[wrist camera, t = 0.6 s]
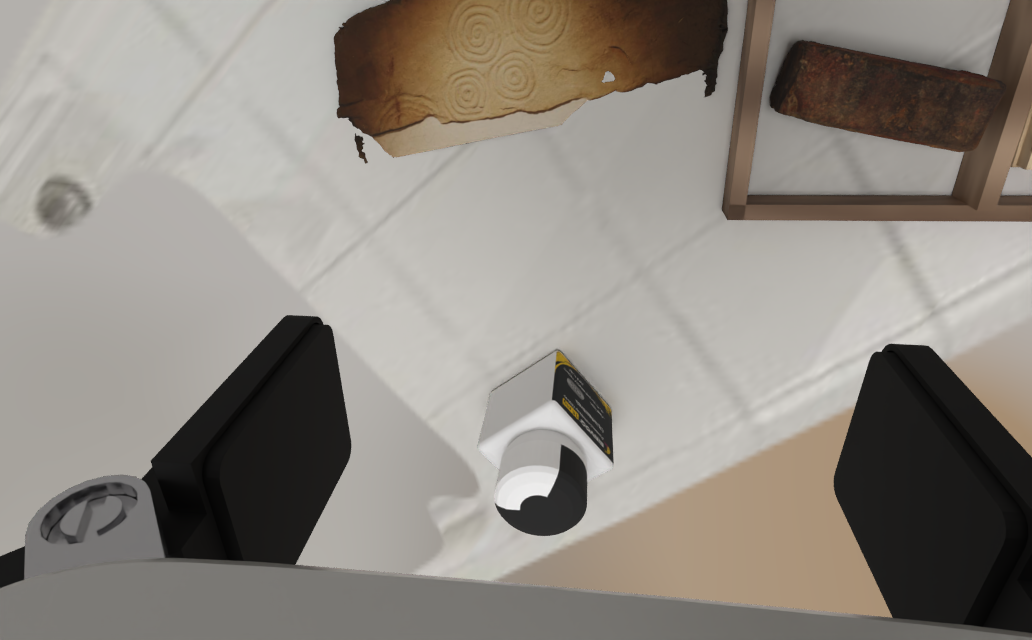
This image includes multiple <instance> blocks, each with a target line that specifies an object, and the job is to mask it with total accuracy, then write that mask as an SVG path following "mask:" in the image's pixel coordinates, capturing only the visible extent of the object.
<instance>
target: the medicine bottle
mask: <svg viewBox="0 0 1032 640" xmlns="http://www.w3.org/2000/svg"><path fill="white" fill-rule="evenodd" d="M477 448H478V450H479V451H480V452H481V453H482V454H483V455H484V456H485V457H486V458H487V459H488V460H489V461H490V462H491V463H492V464H493V465H494V466H495V467H496V468H497V469H498V470H499V473H498V478H497V483H496V488H495V494H494V500H495V505H496V508H497V510H498V512H499V513H500V515H501V516H502V517H503V518H504V519H505V520H506V521H507V522H508V523H509V524H510V525H511V526H513V527H514V528H516V529H518V530H520V531H522V532H525V533H528V534H531V535H537V536H550V535H556V534H560V533H562V532H565V531H567V530H569V529H570V528H572V527H574V526H575V525H576V524H577V523H578V522H579V521H580V520H581V519H582V517H583V516H584V514H585V511H586V507H587V482H589V481H590V480H592V479H594V478H596V477H598V476H600V475H602V474H604V473H606V472H607V471H609V470H611V469H612V468H613V439H612V414H611V409H610V407H609V406H608V405H607V404H606V403H605V402H604V400H603V399H602V398H601V397H600V396H599V395H598V394H597V393H596V391H595V390H594V389H593V388H592V387H591V386H590V385H589V383H588V382H587V381H586V380H585V379H584V378H583V377H582V376H581V374H580V373H579V372H578V371H577V370H576V369H575V368H574V366H573V365H572V364H571V363H570V362H569V361H568V360H567V359H566V357H565V356H564V355H563V354H562V353H561V352H560V351H555V352H553V353H552V354H550V355H548V356H547V357H545V358H544V359H542V360H541V361H539V362H537V363H536V364H534V365H533V366H531V367H530V368H528V369H527V370H525V371H523V372H522V373H520V374H519V375H517V376H516V377H514V378H512V379H511V380H509V381H508V382H506V383H505V384H503V385H502V386H500V387H498V388H497V389H495V390H494V391H492V392H491V394H490V397H489V401H488V405H487V409H486V413H485V417H484V421H483V425H482V429H481V433H480V437H479V441H478V445H477Z"/></svg>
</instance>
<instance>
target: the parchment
mask: <svg viewBox="0 0 1032 640" xmlns="http://www.w3.org/2000/svg"><path fill="white" fill-rule="evenodd" d="M727 15H728V8H727V0H390V1H388V2H386V3H384V4H381V5H378V6H376V7H373V8H369V9H366V10H364V11H363V12H361V13H358V14H356V15H354V16H353V17H351V18H349V19H348V20H347V22H346V23H343V24H342V25H343V26H344V27H343V28H342V27H339V28H340V30H339V31H338V32H337V33H336V34H335V36H334V44H335V65H336V70H337V79H338V80H337V85H338V90H339V106H340V107H339V108H338V109H337V117H338V118H347V117H348V118H349V119H348V120H349V121H350V122H352V124H353V126H355V127H356V128H357V129H360V130H361V131H362V132H363V133H365V134H368V135H369V136H372V137H373V138H374V140H376V141H377V142H378V143H379V144H380V145H381V147H382V148H383V149H384V151H386V152H387V153H388V154H389V155H392V157H393V158H394V157H400V156H406V155H410V154H415V153H421V152H426V151H431V150H435V149H441V148H445V147H449V146H455V145H461V144H464V143H466V144H467V143H470V142H476V141H481V140H485V139H491V138H496V137H501V136H506V135H512V134H516V133H521V132H526V131H532V130H538V129H544V128H547V127H554V126H559V125H562V124H563V122H564V121H565V120H566V119H567V118H568V117H569V116H570V115H571V114H572V113H573V112H575V111H576V110H577V109H579V108H580V107H581V106H582V105H583V104H584V103H585V102H586V101H587V100H594V99H598V98H601V97H603V96H605V95H607V94H609V93H612V92H613V91H615V90H616V91H617V92H629V91H632V90H634V89H636V88H639V87H643V86H644V85H645V84H646V83H653V84H658V83H661V82H663V81H666V80H671V79H674V78H678V77H680V76H681V75H685V74H687V75H688V74H690V73H692V72H695V71H698V70H702V71H703V72H704V73H703V74H702V75H704V74H706V75H707V76H706V80H704V81H705V82H706V84H707V85H708V86H706V90H705V97H707V96H710V95H711V94H712V92H714V91H715V85H716V84H717V83H716V78H717V67H718V59H719V57H720V54H721V53H722V51H723V42H724V39H725V36H726V33H727V31H728V27H727ZM607 71H609V72H611V73H612V74H613V75H614V77H615V78H616V79H615V80H614V81H612V82H605V83H603V82H601V81H602V80H603V78H604V75H605V72H607ZM362 141H363V137H360V136H356V133H355V142H356V144H357V150H358V152H359V157H360V158H362V159H364V162H365V163H368V162H367V159H366V158H365V153H364V152H362V149H363V146H362V145H363V144H365V143H363V142H362Z"/></svg>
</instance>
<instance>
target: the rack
mask: <svg viewBox="0 0 1032 640" xmlns="http://www.w3.org/2000/svg"><path fill="white" fill-rule="evenodd" d="M775 1H776V0H748V8H747V16H746V24H745V32H744V40H743V48H742V56H741V63H740V71H739V79H738V87H737V95H736V103H735V111H734V119H733V126H732V134H731V142H730V150H729V158H728V166H727V174H726V182H725V189H724V197H723V205H722V211H723V213H724V215H725V216H726V218H727V220H835V221H1021V222H1032V196H1000V195H1001V192H1002V189H1003V186H1004V183H1005V180H1006V177H1007V174H1008V171H1009V169H1010V166H1011V163H1012V160H1013V157H1014V154H1015V151H1016V148H1017V145H1018V142H1019V139H1020V136H1021V133H1022V130H1023V127H1024V124H1025V122H1026V119H1027V116H1028V113H1029V110H1030V107H1031V104H1032V0H1011V1H1010V4H1009V8H1008V11H1007V14H1006V18H1005V21H1004V24H1003V27H1002V31H1001V34H1000V37H999V41H998V44H997V47H996V51H995V54H994V57H993V60H992V64H991V67H990V70H989V74H988V78H992V79H996V80H1000V81H1002V82H1003V83H1004V84H1005V85H1006V86H1007V87H1006V91H1005V93H1004V95H1003V97H1002V99H1001V101H1000V103H999V105H998V107H997V108H996V110H995V112H994V114H993V116H992V118H991V120H990V122H989V124H988V126H987V128H986V130H985V132H984V134H983V136H982V138H981V141H980V143H979V145H978V147H977V148H976V149H975V150H973V151H967V152H965V153H964V156H963V160H962V163H961V166H960V169H959V173H958V176H957V179H956V183H955V186H954V189H953V193H952V196H897V195H747V194H748V187H749V180H750V173H751V166H752V159H753V152H754V145H755V139H756V132H757V125H758V118H759V111H760V104H761V97H762V90H763V83H764V77H765V70H766V63H767V56H768V49H769V42H770V35H771V28H772V21H773V15H774V8H775Z"/></svg>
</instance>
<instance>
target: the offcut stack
mask: <svg viewBox="0 0 1032 640" xmlns="http://www.w3.org/2000/svg"><path fill="white" fill-rule="evenodd" d="M1011 167H1021V168H1023V169H1026V170H1032V104H1031V107H1030V110H1029V113H1028V116H1027V119H1026V122H1025V124H1024V127H1023V130H1022V133H1021V136H1020V139H1019V142H1018V145H1017V148H1016V151H1015V154H1014V157H1013V160H1012V163H1011Z"/></svg>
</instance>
